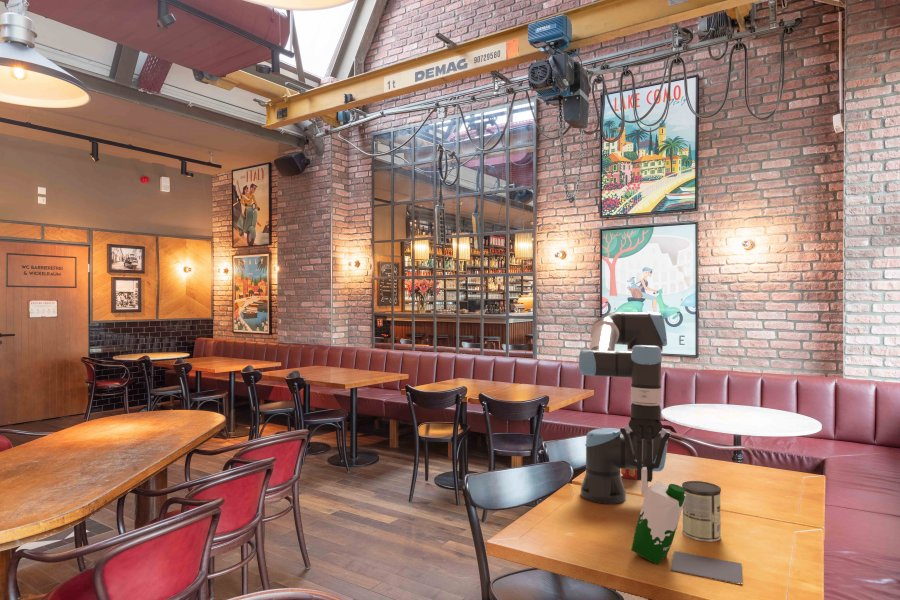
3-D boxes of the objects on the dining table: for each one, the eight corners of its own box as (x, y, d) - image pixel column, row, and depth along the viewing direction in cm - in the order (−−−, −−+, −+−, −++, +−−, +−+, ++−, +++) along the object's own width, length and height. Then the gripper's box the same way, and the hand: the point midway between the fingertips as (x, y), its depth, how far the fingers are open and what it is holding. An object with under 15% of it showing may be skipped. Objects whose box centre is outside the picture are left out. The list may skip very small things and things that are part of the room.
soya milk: (659, 568, 140) (680, 496, 137) (626, 549, 146) (645, 479, 143) (671, 556, 147) (691, 487, 144) (638, 538, 153) (657, 472, 150)
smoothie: (642, 475, 218) (642, 424, 218) (640, 481, 210) (640, 428, 211) (620, 472, 221) (620, 422, 222) (617, 478, 214) (617, 426, 214)
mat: (670, 570, 139) (670, 569, 139) (674, 552, 149) (674, 550, 149) (742, 585, 131) (742, 584, 131) (741, 564, 142) (741, 563, 142)
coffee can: (680, 525, 167) (680, 479, 168) (718, 530, 164) (718, 482, 164) (683, 539, 158) (683, 489, 158) (723, 544, 154) (723, 493, 155)
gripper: (618, 402, 147) (616, 493, 146) (670, 407, 141) (669, 501, 140) (623, 399, 154) (621, 486, 153) (673, 404, 148) (672, 493, 147)
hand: (644, 493), depth 146 cm, fingers closed
